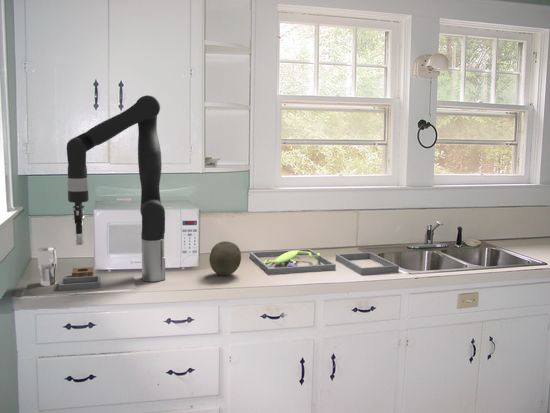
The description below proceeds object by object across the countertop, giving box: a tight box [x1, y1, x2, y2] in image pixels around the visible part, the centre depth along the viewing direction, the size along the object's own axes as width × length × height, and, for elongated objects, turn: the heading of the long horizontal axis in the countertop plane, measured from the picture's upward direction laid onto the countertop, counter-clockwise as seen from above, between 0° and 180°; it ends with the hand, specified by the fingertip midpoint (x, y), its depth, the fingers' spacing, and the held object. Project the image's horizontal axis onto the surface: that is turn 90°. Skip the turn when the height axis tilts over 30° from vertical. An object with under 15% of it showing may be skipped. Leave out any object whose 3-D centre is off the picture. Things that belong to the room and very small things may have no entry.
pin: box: [72, 215, 86, 246], centre depth 207 cm, size 4×4×11 cm
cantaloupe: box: [208, 241, 242, 277], centre depth 225 cm, size 14×14×15 cm
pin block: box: [71, 266, 94, 277], centre depth 217 cm, size 8×8×4 cm
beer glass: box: [37, 246, 58, 287], centre depth 206 cm, size 7×7×15 cm
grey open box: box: [249, 248, 337, 275], centre depth 250 cm, size 32×32×2 cm
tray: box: [58, 275, 102, 291], centre depth 206 cm, size 15×10×3 cm, turn 108°
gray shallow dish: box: [335, 251, 400, 276], centre depth 247 cm, size 19×27×3 cm
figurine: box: [263, 249, 321, 267], centre depth 249 cm, size 18×27×6 cm
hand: (79, 232), depth 207 cm, fingers closed on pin, 2 cm apart
